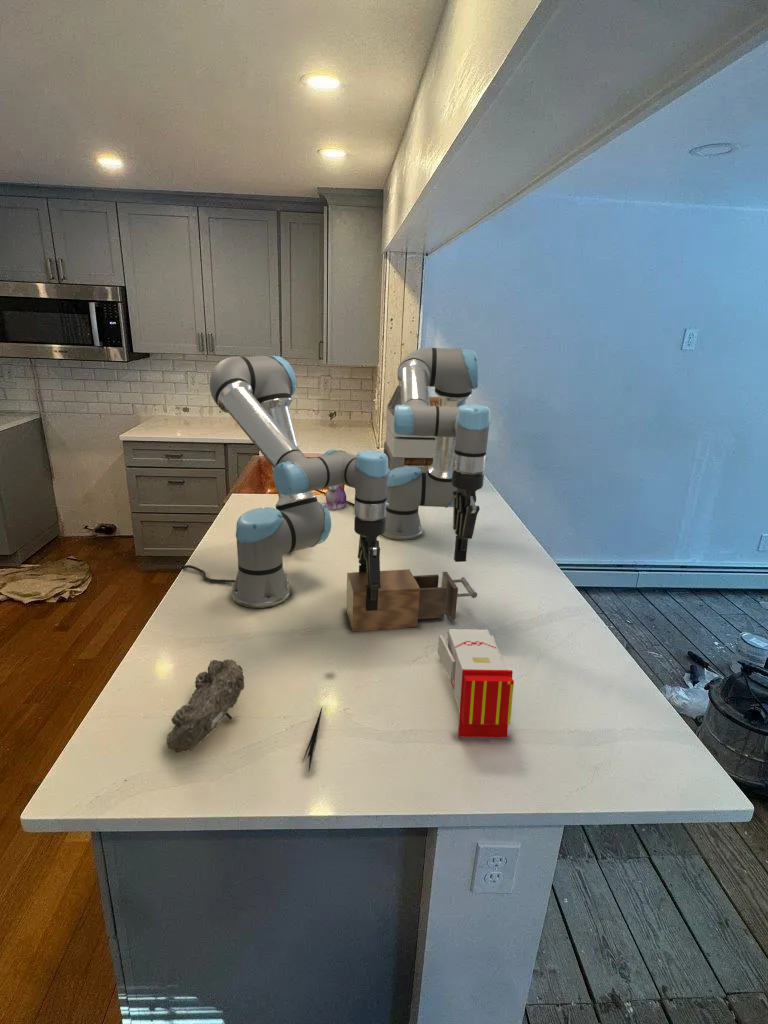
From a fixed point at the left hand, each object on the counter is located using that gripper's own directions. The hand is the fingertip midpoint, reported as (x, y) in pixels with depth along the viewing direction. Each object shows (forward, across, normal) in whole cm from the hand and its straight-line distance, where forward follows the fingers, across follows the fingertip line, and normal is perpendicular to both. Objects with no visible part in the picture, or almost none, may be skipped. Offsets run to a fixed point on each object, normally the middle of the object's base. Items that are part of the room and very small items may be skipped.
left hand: (367, 598), depth 142 cm
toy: (+6, -32, -16) cm, 36 cm away
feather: (+6, -35, +15) cm, 39 cm away
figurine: (+6, +86, -2) cm, 87 cm away
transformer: (+6, +132, -49) cm, 140 cm away
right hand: (-9, 0, -24) cm, 25 cm away
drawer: (+5, 0, -17) cm, 18 cm away
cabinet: (+6, 0, -4) cm, 7 cm away
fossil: (+6, -32, +35) cm, 48 cm away
